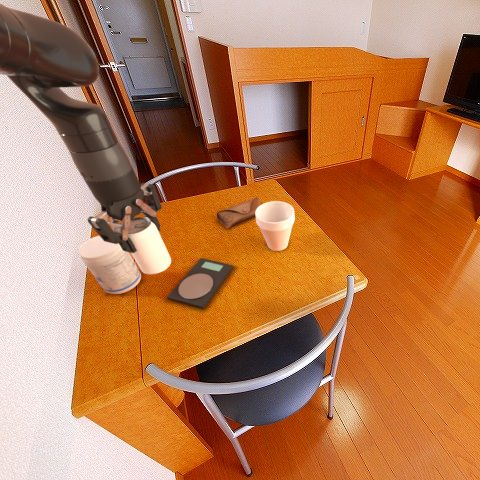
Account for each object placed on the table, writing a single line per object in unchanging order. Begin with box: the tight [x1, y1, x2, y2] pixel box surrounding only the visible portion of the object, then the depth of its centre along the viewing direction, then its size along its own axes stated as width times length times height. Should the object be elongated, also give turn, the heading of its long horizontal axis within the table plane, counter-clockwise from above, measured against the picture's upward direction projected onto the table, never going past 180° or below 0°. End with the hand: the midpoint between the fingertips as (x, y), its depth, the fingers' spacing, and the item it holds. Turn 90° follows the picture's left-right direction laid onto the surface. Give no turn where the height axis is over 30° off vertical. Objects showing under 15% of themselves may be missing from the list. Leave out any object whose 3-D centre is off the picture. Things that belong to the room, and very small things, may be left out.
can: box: [120, 216, 172, 275], centre depth 60 cm, size 6×6×12 cm
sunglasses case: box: [216, 197, 263, 229], centre depth 106 cm, size 18×7×7 cm, turn 133°
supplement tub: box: [77, 235, 142, 295], centre depth 75 cm, size 10×10×15 cm
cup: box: [255, 200, 296, 252], centre depth 90 cm, size 12×12×14 cm
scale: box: [166, 257, 234, 310], centre depth 80 cm, size 16×11×2 cm
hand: (144, 240), depth 59 cm, fingers closed on can, 6 cm apart
